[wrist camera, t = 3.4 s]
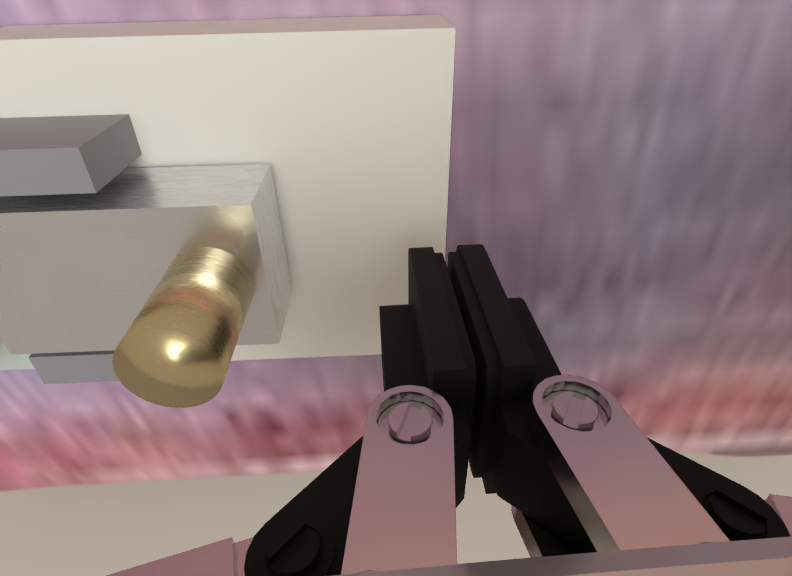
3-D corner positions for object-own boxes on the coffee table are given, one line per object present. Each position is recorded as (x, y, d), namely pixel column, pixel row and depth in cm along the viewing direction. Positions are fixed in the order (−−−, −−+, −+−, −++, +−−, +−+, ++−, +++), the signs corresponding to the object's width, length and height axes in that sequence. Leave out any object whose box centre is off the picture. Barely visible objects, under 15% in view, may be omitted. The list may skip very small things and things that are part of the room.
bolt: (270, 163, 13) (213, 281, 8) (292, 289, 15) (257, 436, 10) (-3, 172, 12) (-219, 297, 8) (61, 298, 15) (-77, 451, 10)
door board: (440, 14, 14) (474, 44, 9) (432, 301, 19) (450, 407, 15) (6, 25, 13) (-181, 62, 9) (128, 312, 19) (51, 424, 14)
